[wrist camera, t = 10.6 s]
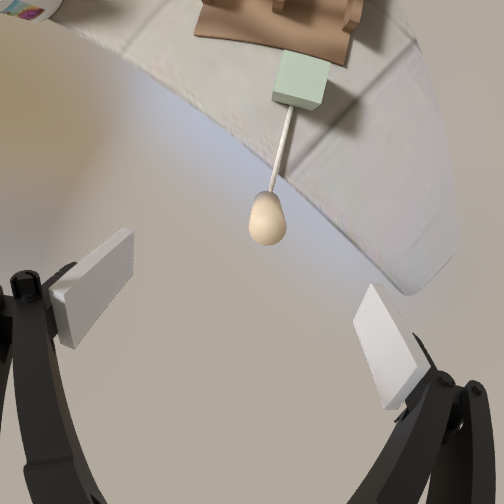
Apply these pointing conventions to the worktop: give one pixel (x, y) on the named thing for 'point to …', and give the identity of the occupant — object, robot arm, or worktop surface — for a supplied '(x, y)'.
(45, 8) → the milk bottle
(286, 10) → the lane shelf
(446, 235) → the worktop surface
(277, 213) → the green headed mallet
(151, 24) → the worktop surface
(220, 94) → the worktop surface
